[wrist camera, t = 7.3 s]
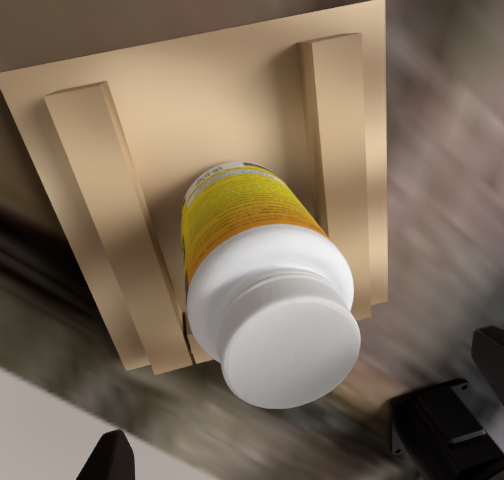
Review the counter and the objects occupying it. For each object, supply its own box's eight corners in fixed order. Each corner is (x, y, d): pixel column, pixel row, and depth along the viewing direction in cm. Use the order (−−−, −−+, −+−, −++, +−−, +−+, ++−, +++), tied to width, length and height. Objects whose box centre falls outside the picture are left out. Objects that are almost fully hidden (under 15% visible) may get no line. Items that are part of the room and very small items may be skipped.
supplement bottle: (156, 194, 19) (146, 341, 10) (260, 135, 18) (351, 229, 9) (215, 279, 21) (251, 456, 12) (307, 229, 21) (412, 372, 12)
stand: (376, 287, 26) (405, 321, 22) (128, 352, 24) (122, 398, 21) (369, 1, 18) (410, -7, 15) (7, 71, 17) (-29, 78, 13)
